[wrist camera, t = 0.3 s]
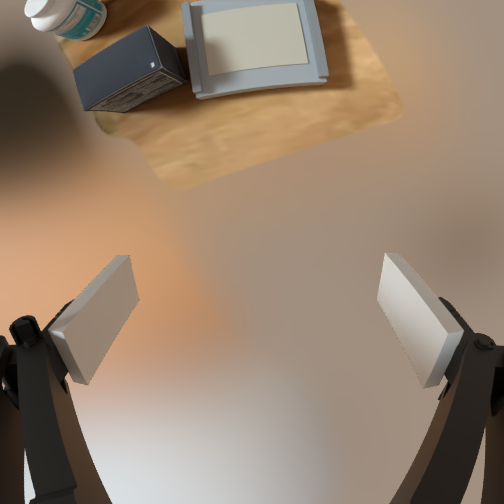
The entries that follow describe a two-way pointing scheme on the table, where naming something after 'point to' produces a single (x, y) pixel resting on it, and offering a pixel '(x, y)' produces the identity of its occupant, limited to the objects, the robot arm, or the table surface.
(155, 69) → the small box
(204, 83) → the dock
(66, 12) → the pill bottle
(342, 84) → the table surface
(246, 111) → the table surface
